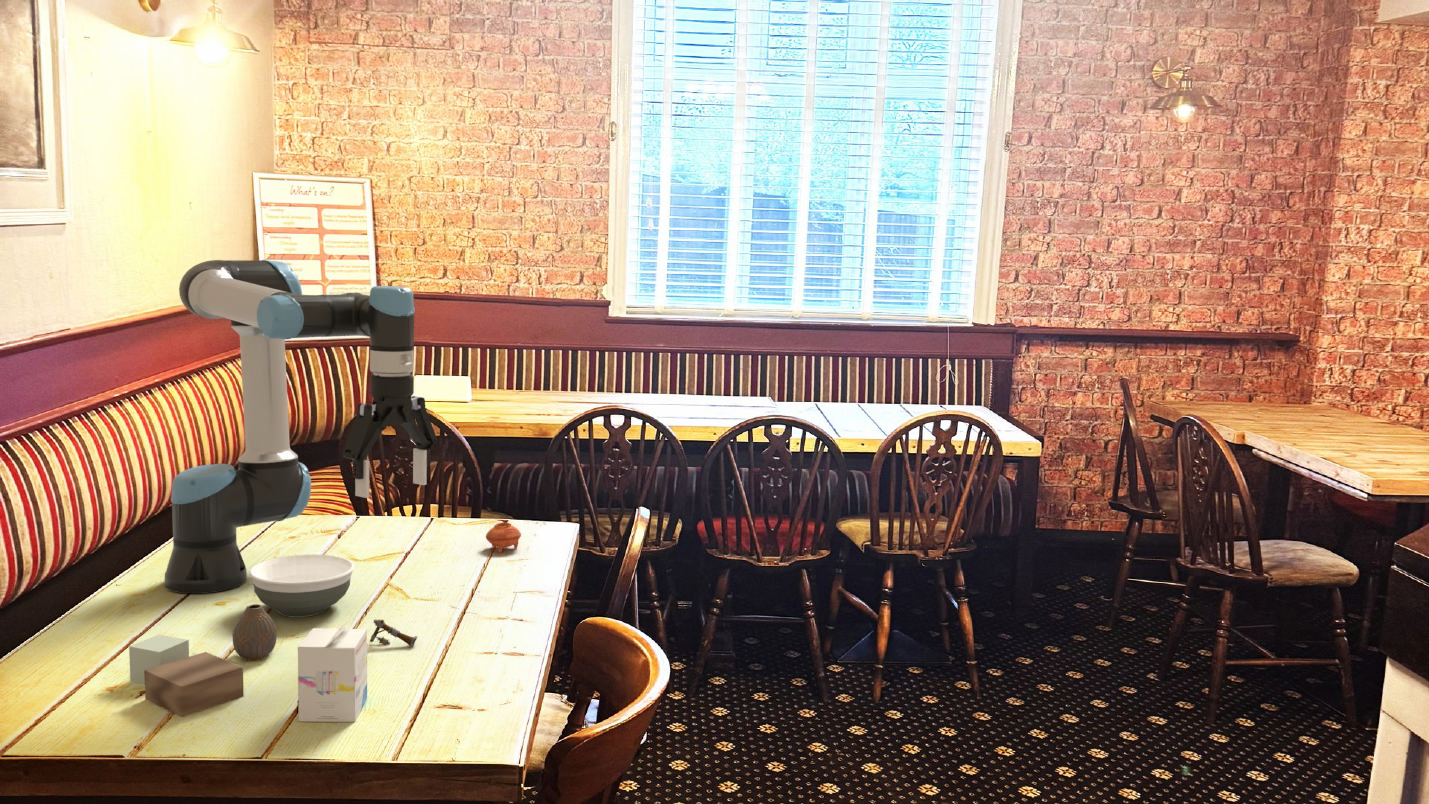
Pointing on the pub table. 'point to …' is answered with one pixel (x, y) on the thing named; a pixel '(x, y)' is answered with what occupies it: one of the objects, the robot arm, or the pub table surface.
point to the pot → (503, 536)
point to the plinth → (193, 684)
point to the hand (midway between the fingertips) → (391, 490)
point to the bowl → (302, 583)
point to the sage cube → (155, 654)
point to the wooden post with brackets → (393, 632)
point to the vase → (254, 634)
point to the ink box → (332, 675)
